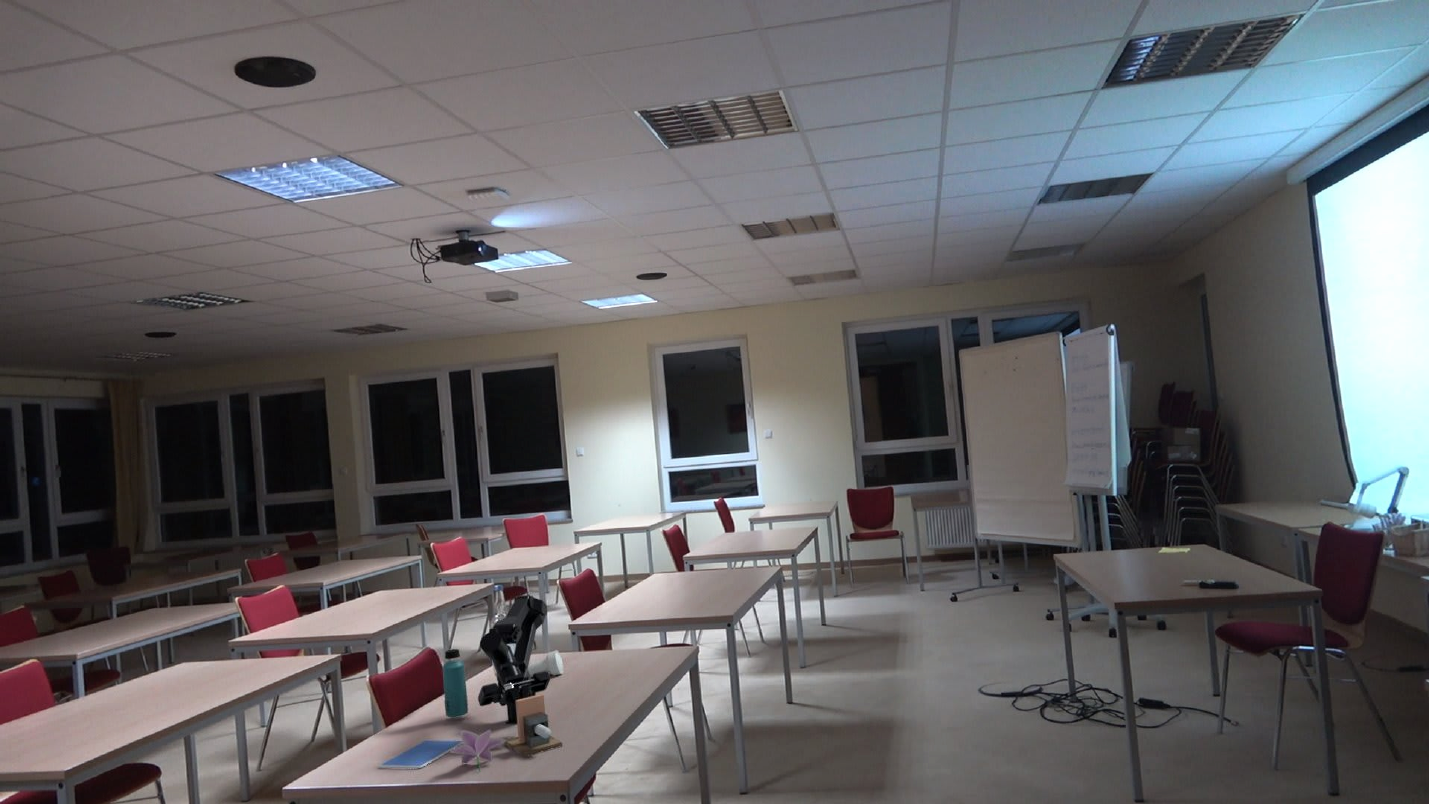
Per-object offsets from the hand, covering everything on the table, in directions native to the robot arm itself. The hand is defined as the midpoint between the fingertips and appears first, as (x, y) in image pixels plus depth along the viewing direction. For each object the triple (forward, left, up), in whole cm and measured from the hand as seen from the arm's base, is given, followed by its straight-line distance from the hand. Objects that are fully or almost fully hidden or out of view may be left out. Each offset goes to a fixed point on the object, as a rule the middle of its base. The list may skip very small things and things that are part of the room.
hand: (525, 715), depth 227 cm
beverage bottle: (-31, +23, -7) cm, 39 cm away
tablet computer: (-25, -7, -8) cm, 28 cm away
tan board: (+3, -2, -7) cm, 8 cm away
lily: (-5, -17, -7) cm, 19 cm away
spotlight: (-22, +69, -7) cm, 73 cm away
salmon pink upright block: (+6, -6, -5) cm, 10 cm away
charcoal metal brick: (+5, -4, -7) cm, 9 cm away
